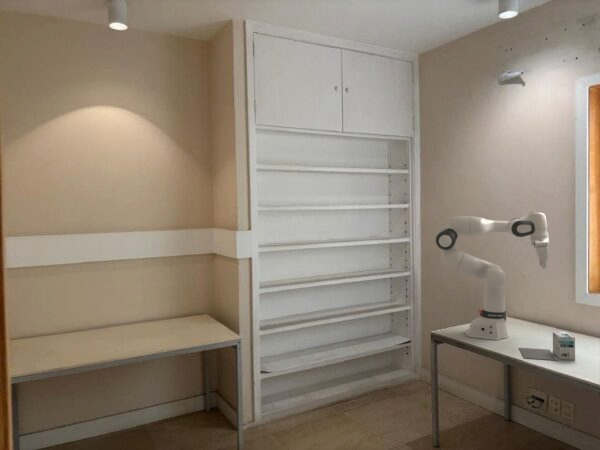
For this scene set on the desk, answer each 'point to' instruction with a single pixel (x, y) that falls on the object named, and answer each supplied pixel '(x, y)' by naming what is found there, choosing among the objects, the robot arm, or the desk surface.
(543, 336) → the desk surface
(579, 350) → the desk surface
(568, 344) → the light bulb box
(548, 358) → the rubber mat
